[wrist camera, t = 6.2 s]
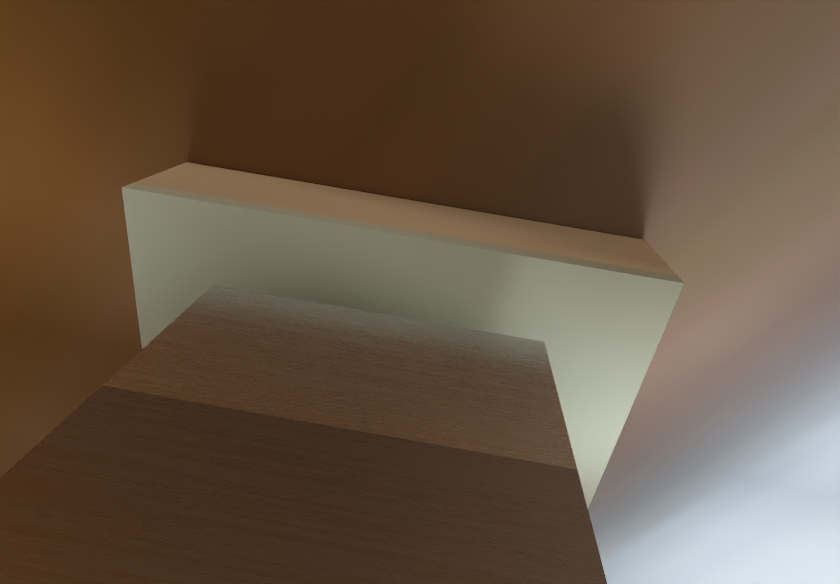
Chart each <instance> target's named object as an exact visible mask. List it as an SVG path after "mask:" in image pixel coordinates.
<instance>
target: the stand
mask: <svg viewBox="0 0 840 584" xmlns="http://www.w3.org/2000/svg"><path fill="white" fill-rule="evenodd" d="M122 195H123V203H124V210H125V218H126V226H127V234H128V242H129V250H130V258H131V266H132V274H133V282H134V290H135V298H136V305H137V313H138V321H139V329H140V337H141V345H142V349H143V348H144V347H145V346H146V345H147V344H149V343H150V342H151V341H152V340H153V339H154V338H155V337H156V336H157V335H158V334H160V333H161V332H162V331H163V330H164V329H165V328H166V327H167V326H168V325H169V324H171V323H172V322H173V321H174V320H175V319H176V318H177V317H178V316H179V315H180V314H182V313H183V312H184V311H185V310H186V309H187V308H188V307H189V306H190V305H191V304H193V303H194V302H195V301H196V300H197V299H198V298H199V297H200V296H201V295H202V294H204V293H205V292H206V291H207V290H208V289H209V288H210V287H211V286H212V285H218V286H224V287H230V288H236V289H242V290H247V291H253V292H259V293H265V294H271V295H276V296H282V297H288V298H294V299H300V300H305V301H311V302H317V303H323V304H329V305H334V306H340V307H346V308H352V309H358V310H363V311H369V312H375V313H381V314H387V315H392V316H398V317H404V318H410V319H416V320H421V321H427V322H433V323H439V324H445V325H450V326H456V327H462V328H468V329H474V330H479V331H485V332H491V333H497V334H503V335H508V336H514V337H520V338H526V339H532V340H537V341H543V342H545V346H546V350H547V354H548V358H549V362H550V366H551V369H552V373H553V377H554V381H555V385H556V389H557V393H558V396H559V400H560V404H561V408H562V412H563V416H564V420H565V423H566V427H567V431H568V435H569V439H570V443H571V447H572V450H573V454H574V458H575V462H576V466H577V470H578V474H579V477H580V481H581V485H582V489H583V493H584V497H585V501H586V504H587V508H589V505H590V503H591V501H592V498H593V496H594V494H595V491H596V489H597V487H598V484H599V482H600V480H601V477H602V475H603V473H604V470H605V468H606V466H607V463H608V461H609V459H610V456H611V454H612V452H613V449H614V447H615V445H616V442H617V440H618V438H619V435H620V433H621V431H622V428H623V426H624V424H625V421H626V419H627V417H628V414H629V412H630V410H631V407H632V405H633V403H634V400H635V398H636V396H637V393H638V391H639V389H640V386H641V384H642V382H643V379H644V377H645V375H646V372H647V370H648V368H649V365H650V363H651V361H652V358H653V356H654V354H655V351H656V349H657V347H658V344H659V342H660V340H661V337H662V335H663V333H664V330H665V328H666V326H667V323H668V321H669V319H670V316H671V314H672V312H673V309H674V307H675V305H676V302H677V300H678V298H679V295H680V293H681V290H682V288H683V286H684V282H683V281H682V280H681V279H680V278H679V277H678V276H677V275H676V274H675V273H674V272H673V270H672V269H671V268H670V267H669V266H668V265H667V264H666V263H665V262H664V261H663V260H662V258H661V257H660V256H659V255H658V254H657V253H656V252H655V251H654V250H653V249H652V248H651V246H650V245H649V244H648V243H647V242H646V241H645V240H643V239H637V238H631V237H625V236H619V235H614V234H608V233H602V232H596V231H590V230H584V229H578V228H572V227H566V226H560V225H554V224H549V223H543V222H537V221H531V220H525V219H519V218H513V217H507V216H501V215H495V214H490V213H484V212H478V211H472V210H466V209H460V208H454V207H448V206H442V205H436V204H431V203H425V202H419V201H413V200H407V199H401V198H395V197H389V196H383V195H377V194H372V193H366V192H360V191H354V190H348V189H342V188H336V187H330V186H324V185H318V184H312V183H307V182H301V181H295V180H289V179H283V178H277V177H271V176H265V175H259V174H253V173H248V172H242V171H236V170H230V169H224V168H218V167H212V166H206V165H200V164H194V163H189V162H185V163H183V164H180V165H178V166H175V167H172V168H170V169H167V170H165V171H162V172H160V173H157V174H154V175H152V176H149V177H147V178H144V179H142V180H139V181H137V182H134V183H131V184H129V185H126V186H124V187H122Z"/></svg>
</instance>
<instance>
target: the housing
mask: <svg viewBox="0 0 840 584" xmlns="http://www.w3.org/2000/svg"><path fill="white" fill-rule="evenodd" d="M0 584H607V582H606V578H605V574H604V570H603V566H602V562H601V558H600V555H599V551H598V547H597V543H596V539H595V535H594V531H593V528H592V524H591V520H590V516H589V512H588V508H587V504H586V501H585V497H584V493H583V489H582V485H581V481H580V477H579V474H578V470H577V466H576V462H575V458H574V454H573V450H572V447H571V443H570V439H569V435H568V431H567V427H566V423H565V420H564V416H563V412H562V408H561V404H560V400H559V396H558V393H557V389H556V385H555V381H554V377H553V373H552V369H551V366H550V362H549V358H548V354H547V350H546V346H545V342H543V341H537V340H532V339H526V338H520V337H514V336H508V335H503V334H497V333H491V332H485V331H479V330H474V329H468V328H462V327H456V326H450V325H445V324H439V323H433V322H427V321H421V320H416V319H410V318H404V317H398V316H392V315H387V314H381V313H375V312H369V311H363V310H358V309H352V308H346V307H340V306H334V305H329V304H323V303H317V302H311V301H305V300H300V299H294V298H288V297H282V296H276V295H271V294H265V293H259V292H253V291H247V290H242V289H236V288H230V287H224V286H218V285H212V286H211V287H210V288H209V289H208V290H207V291H206V292H205V293H204V294H202V295H201V296H200V297H199V298H198V299H197V300H196V301H195V302H194V303H193V304H191V305H190V306H189V307H188V308H187V309H186V310H185V311H184V312H183V313H182V314H180V315H179V316H178V317H177V318H176V319H175V320H174V321H173V322H172V323H171V324H169V325H168V326H167V327H166V328H165V329H164V330H163V331H162V332H161V333H160V334H158V335H157V336H156V337H155V338H154V339H153V340H152V341H151V342H150V343H149V344H147V345H146V346H145V347H144V348H143V349H142V350H141V351H140V352H139V353H138V354H136V355H135V356H134V357H133V358H132V359H131V360H130V361H129V362H128V363H127V364H125V365H124V366H123V367H122V368H121V369H120V370H119V371H118V372H117V373H116V374H114V375H113V376H112V377H111V378H110V379H109V380H108V381H107V382H106V383H105V384H103V385H102V386H101V387H100V388H99V389H98V390H97V391H96V392H95V393H94V394H92V395H91V396H90V397H89V398H88V399H87V400H86V401H85V402H84V403H83V404H81V405H80V406H79V407H78V408H77V409H76V410H75V411H74V412H73V413H72V414H70V415H69V416H68V417H67V418H66V419H65V420H64V421H63V422H62V423H61V424H59V425H58V426H57V427H56V428H55V429H54V430H53V431H52V432H51V433H50V434H48V435H47V436H46V437H45V438H44V439H43V440H42V441H41V442H40V443H39V444H37V445H36V446H35V447H34V448H33V449H32V450H31V451H30V452H29V453H28V454H26V455H25V456H24V457H23V458H22V459H21V460H20V461H19V462H18V463H17V464H15V465H14V466H13V467H12V468H11V469H10V470H9V471H8V472H7V473H6V474H4V475H3V476H2V477H1V478H0Z"/></svg>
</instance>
